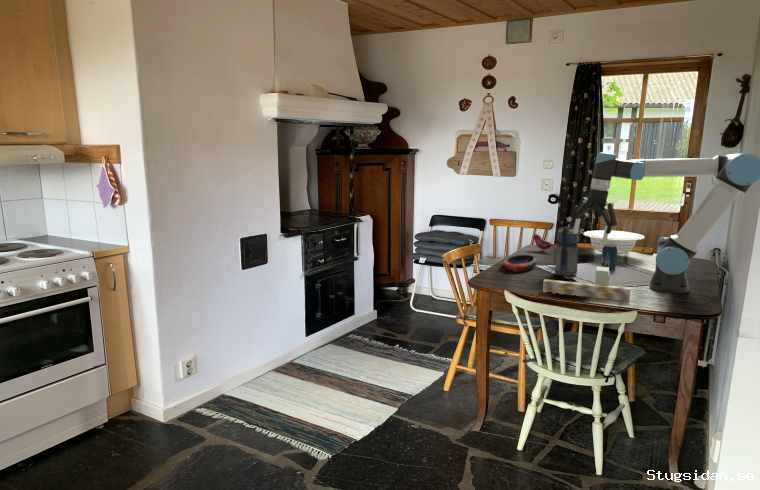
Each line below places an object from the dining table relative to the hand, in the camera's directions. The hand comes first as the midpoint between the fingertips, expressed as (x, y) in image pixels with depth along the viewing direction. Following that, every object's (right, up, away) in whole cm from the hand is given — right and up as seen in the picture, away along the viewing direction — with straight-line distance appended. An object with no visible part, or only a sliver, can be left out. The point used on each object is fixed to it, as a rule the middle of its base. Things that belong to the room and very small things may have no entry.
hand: (589, 236), depth 231 cm
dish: (-20, -16, +43) cm, 49 cm away
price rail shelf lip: (-5, -25, -8) cm, 27 cm away
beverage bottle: (-1, -18, +26) cm, 32 cm away
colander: (+38, -11, +65) cm, 76 cm away
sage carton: (+4, -24, -2) cm, 24 cm away
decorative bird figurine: (+5, -8, +78) cm, 79 cm away
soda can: (+25, -16, +38) cm, 48 cm away
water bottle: (+8, -14, +50) cm, 53 cm away
